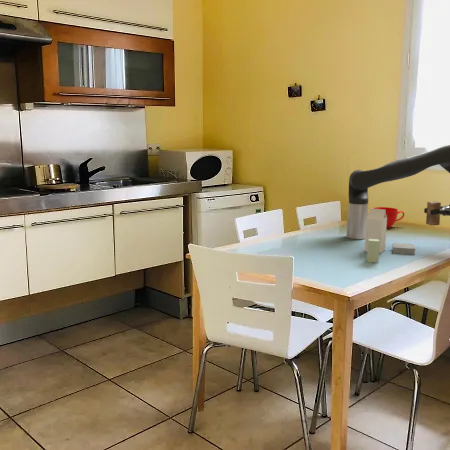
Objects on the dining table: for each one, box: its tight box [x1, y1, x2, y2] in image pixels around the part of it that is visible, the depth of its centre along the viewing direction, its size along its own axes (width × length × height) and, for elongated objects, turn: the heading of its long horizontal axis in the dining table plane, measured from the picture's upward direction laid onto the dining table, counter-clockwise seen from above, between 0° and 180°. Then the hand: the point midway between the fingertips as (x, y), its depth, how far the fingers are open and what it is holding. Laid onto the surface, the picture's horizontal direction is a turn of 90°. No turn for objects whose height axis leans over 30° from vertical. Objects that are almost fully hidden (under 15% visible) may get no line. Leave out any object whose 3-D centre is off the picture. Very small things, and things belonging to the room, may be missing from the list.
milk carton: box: [364, 207, 387, 254], centre depth 229 cm, size 7×7×19 cm
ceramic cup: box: [372, 206, 405, 229], centre depth 284 cm, size 13×17×10 cm
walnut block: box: [425, 200, 442, 226], centre depth 231 cm, size 4×4×10 cm
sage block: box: [366, 239, 380, 263], centre depth 214 cm, size 4×4×9 cm
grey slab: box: [392, 242, 416, 256], centre depth 231 cm, size 9×9×3 cm
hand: (427, 211), depth 230 cm, fingers closed on walnut block, 4 cm apart
